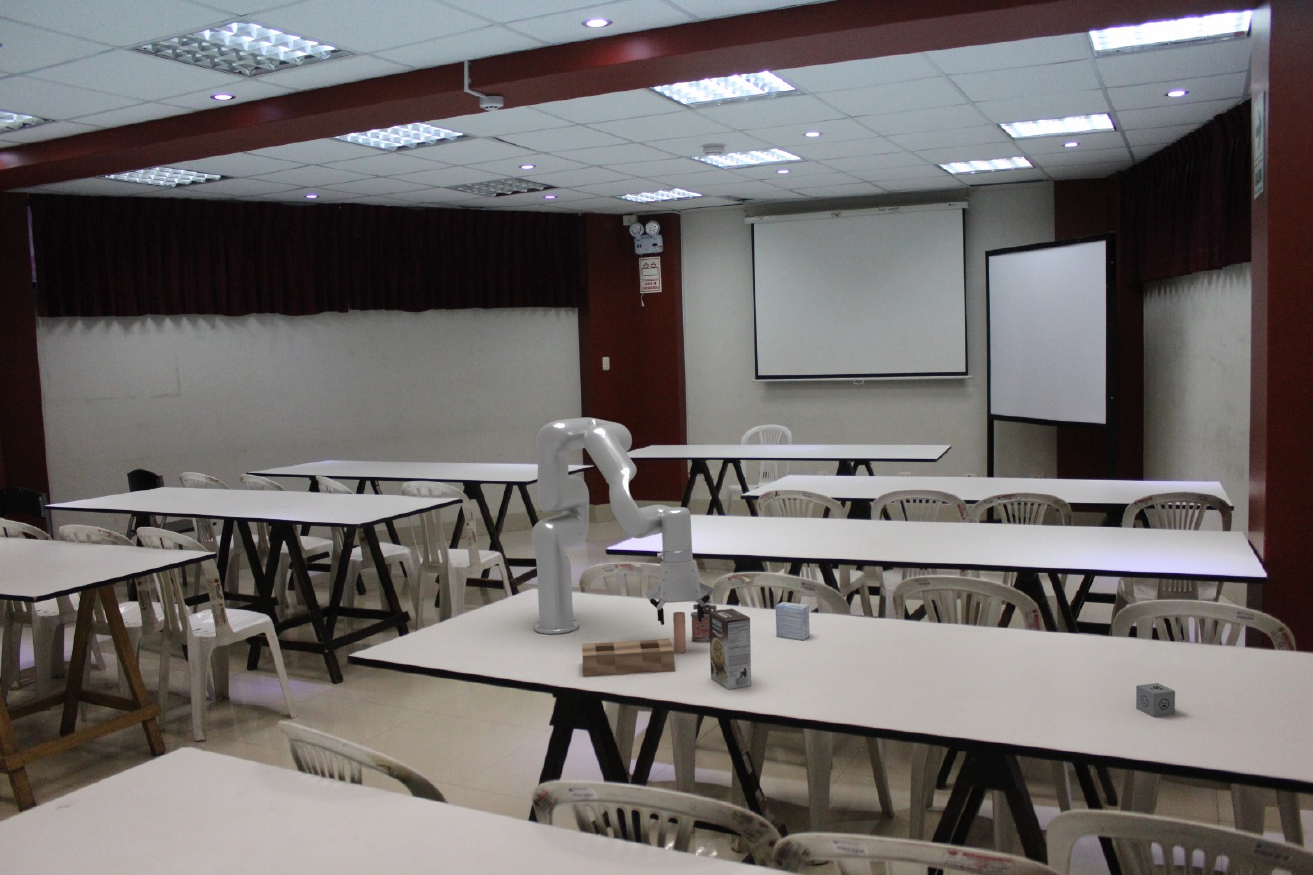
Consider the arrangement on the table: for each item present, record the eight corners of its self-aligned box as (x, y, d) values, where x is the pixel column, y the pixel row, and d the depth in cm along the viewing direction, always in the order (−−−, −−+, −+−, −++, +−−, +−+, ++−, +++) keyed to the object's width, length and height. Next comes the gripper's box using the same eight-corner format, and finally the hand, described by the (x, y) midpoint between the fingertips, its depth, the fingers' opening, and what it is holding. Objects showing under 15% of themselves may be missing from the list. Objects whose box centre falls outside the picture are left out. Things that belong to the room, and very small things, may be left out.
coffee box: (709, 678, 229) (707, 611, 227) (733, 674, 231) (732, 607, 230) (727, 690, 220) (725, 620, 219) (752, 685, 223) (750, 616, 222)
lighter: (722, 638, 260) (721, 602, 259) (721, 642, 256) (720, 605, 256) (692, 638, 261) (690, 602, 260) (691, 642, 257) (690, 605, 256)
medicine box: (810, 636, 259) (809, 604, 258) (803, 641, 255) (802, 608, 255) (783, 632, 263) (782, 601, 263) (775, 637, 260) (775, 605, 259)
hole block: (582, 663, 243) (582, 643, 242) (670, 658, 245) (669, 638, 244) (583, 676, 233) (582, 656, 232) (674, 671, 235) (674, 650, 234)
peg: (673, 650, 251) (672, 612, 250) (685, 649, 252) (684, 611, 251) (675, 653, 248) (673, 615, 247) (686, 652, 249) (685, 614, 248)
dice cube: (1174, 714, 198) (1175, 691, 197) (1153, 717, 197) (1153, 693, 196) (1157, 706, 202) (1157, 683, 202) (1136, 709, 201) (1136, 685, 201)
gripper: (644, 561, 243) (648, 628, 244) (713, 556, 245) (716, 623, 246) (642, 555, 251) (646, 621, 252) (709, 551, 252) (712, 616, 253)
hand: (681, 622), depth 249 cm, fingers open, 9 cm apart
